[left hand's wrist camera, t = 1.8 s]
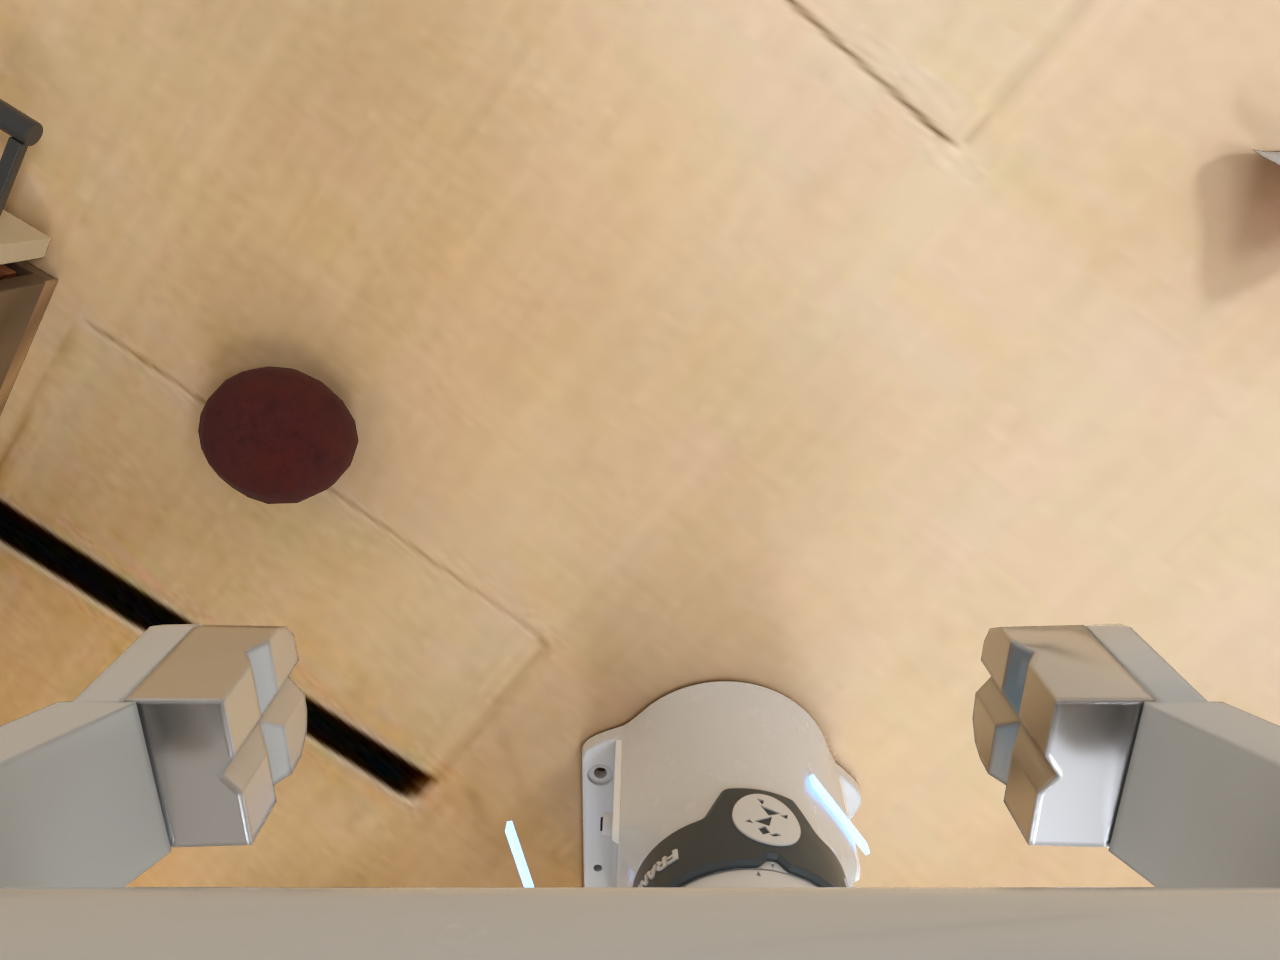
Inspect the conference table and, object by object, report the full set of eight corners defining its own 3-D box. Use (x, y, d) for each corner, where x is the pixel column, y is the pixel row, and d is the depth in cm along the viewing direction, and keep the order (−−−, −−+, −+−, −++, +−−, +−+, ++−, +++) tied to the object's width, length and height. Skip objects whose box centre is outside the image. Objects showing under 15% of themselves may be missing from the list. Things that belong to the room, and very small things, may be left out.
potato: (237, 342, 48) (173, 372, 42) (378, 367, 49) (337, 401, 42) (233, 466, 51) (173, 513, 44) (368, 489, 51) (327, 538, 45)
